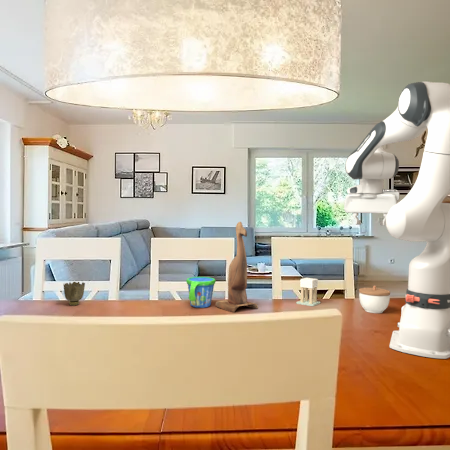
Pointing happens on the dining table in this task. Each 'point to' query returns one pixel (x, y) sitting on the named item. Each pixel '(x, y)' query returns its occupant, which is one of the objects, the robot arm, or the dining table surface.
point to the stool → (312, 285)
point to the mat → (308, 303)
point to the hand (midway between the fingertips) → (370, 225)
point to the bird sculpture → (237, 276)
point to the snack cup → (200, 291)
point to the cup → (74, 292)
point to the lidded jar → (374, 299)
